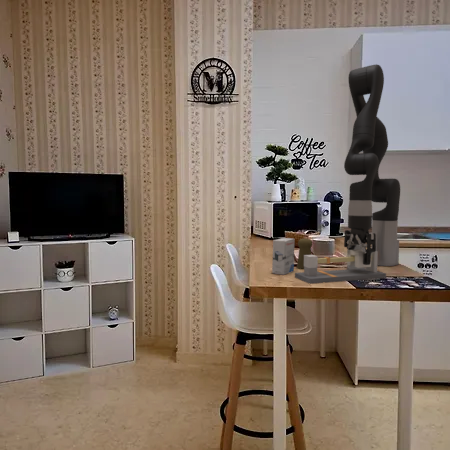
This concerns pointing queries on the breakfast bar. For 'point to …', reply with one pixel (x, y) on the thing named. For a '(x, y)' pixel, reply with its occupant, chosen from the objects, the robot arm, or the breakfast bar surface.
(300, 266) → the olive pawn shape
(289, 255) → the ink box
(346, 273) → the cable board
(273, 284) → the breakfast bar surface
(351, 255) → the sleeve
